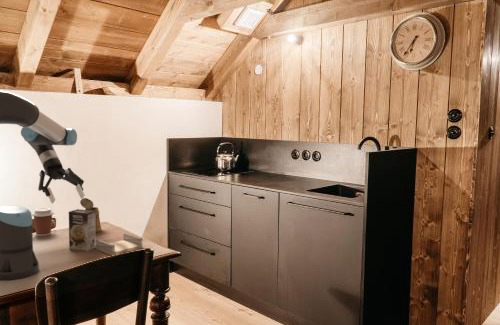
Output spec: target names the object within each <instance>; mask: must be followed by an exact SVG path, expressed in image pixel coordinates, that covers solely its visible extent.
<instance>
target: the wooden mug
mask: <svg viewBox="0 0 500 325" xmlns="http://www.w3.org/2000/svg"><path fill="white" fill-rule="evenodd" d="M79 204H80V205H81V207H82V208H83V209H84V208H85V209H84V210H91V211H96V233H99V232H101V231H102V226H101V219H100V210H99V207H97V206H94V202H93V201H92V200H91V199H89V198H86V197H84V198H83V199H81V200H80V201H79Z"/></svg>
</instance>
